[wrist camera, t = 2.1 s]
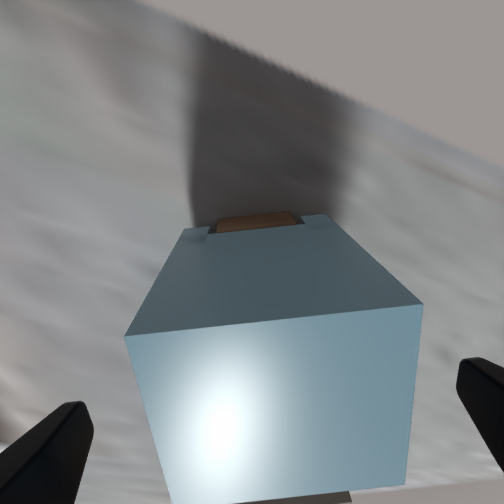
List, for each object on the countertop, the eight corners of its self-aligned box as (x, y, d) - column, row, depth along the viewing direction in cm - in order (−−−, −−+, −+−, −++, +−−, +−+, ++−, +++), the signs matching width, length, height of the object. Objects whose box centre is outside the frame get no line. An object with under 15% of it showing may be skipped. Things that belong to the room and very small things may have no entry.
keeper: (327, 321, 14) (404, 485, 8) (203, 335, 14) (173, 510, 8) (325, 213, 13) (423, 304, 6) (184, 228, 13) (123, 336, 6)
